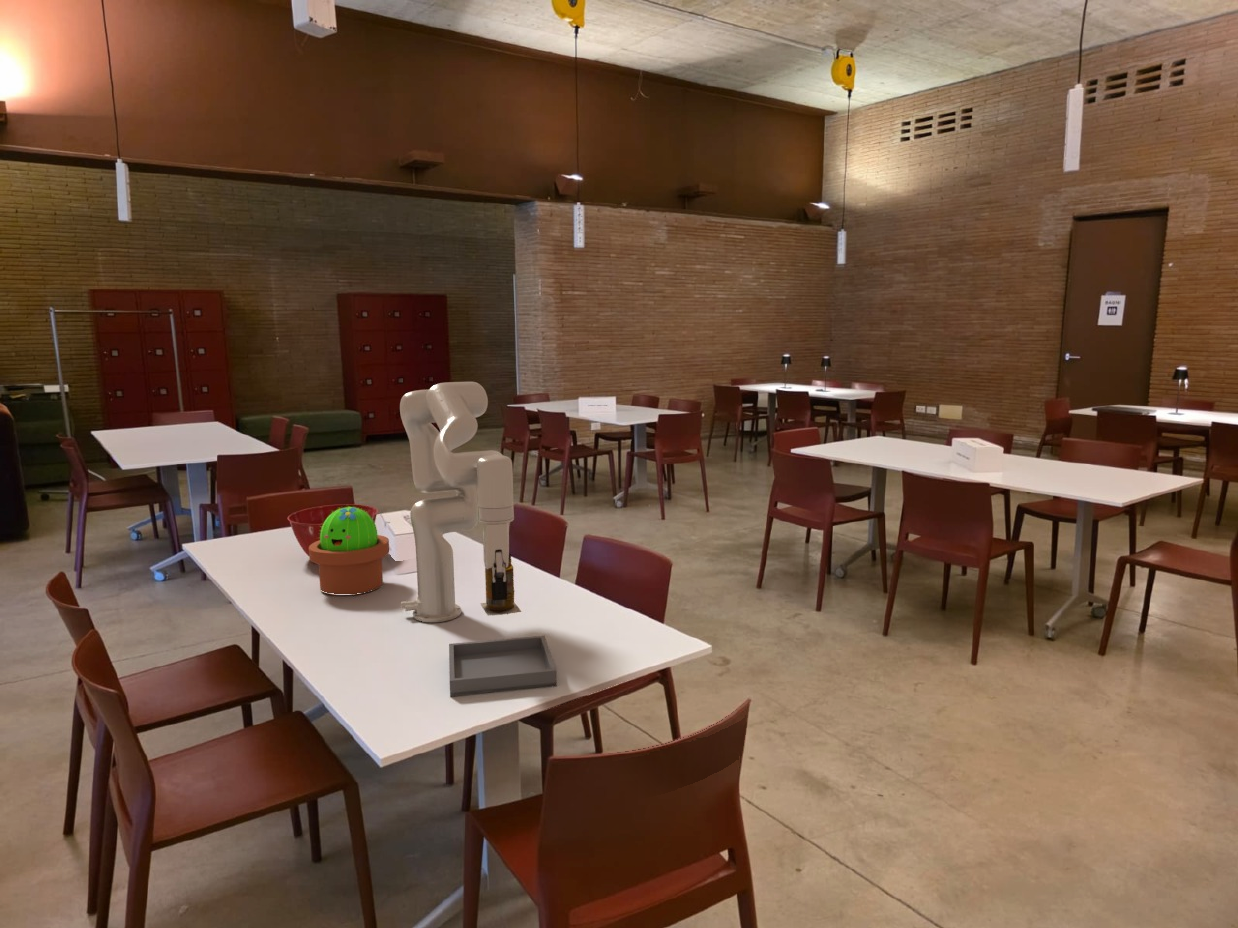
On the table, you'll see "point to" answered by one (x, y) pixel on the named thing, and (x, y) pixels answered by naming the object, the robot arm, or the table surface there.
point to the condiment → (500, 605)
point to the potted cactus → (349, 552)
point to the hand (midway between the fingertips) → (498, 593)
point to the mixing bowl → (318, 522)
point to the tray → (500, 666)
